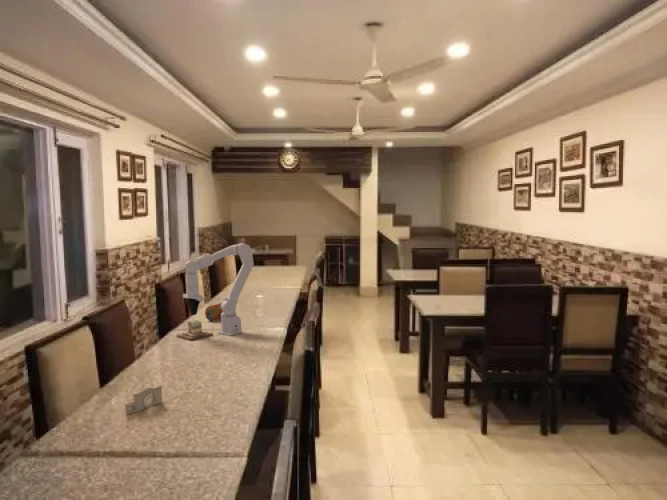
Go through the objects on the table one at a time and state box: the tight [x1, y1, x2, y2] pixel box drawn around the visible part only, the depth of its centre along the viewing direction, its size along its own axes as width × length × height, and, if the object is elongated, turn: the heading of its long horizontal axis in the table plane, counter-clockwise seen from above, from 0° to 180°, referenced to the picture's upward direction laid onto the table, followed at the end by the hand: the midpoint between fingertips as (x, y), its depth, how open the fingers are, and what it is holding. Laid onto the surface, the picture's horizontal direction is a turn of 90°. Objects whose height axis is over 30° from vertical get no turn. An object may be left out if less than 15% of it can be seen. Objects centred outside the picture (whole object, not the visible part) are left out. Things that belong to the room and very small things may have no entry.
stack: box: [187, 319, 203, 335], centre depth 235 cm, size 4×4×6 cm
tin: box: [204, 302, 223, 322], centre depth 270 cm, size 15×3×8 cm, turn 143°
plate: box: [176, 330, 214, 342], centre depth 235 cm, size 12×12×2 cm
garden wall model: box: [123, 385, 163, 415], centre depth 151 cm, size 12×2×6 cm, turn 141°
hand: (193, 314), depth 234 cm, fingers closed
